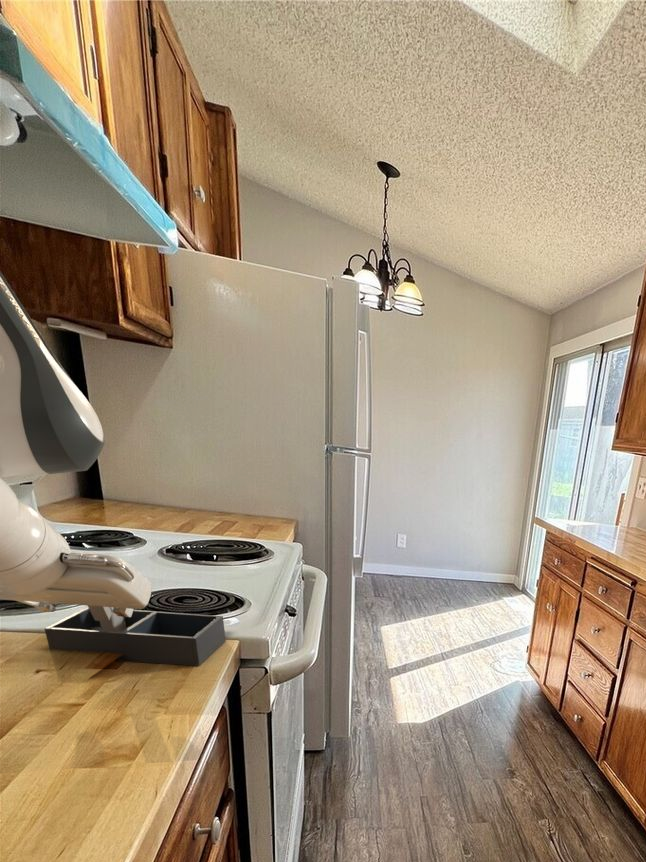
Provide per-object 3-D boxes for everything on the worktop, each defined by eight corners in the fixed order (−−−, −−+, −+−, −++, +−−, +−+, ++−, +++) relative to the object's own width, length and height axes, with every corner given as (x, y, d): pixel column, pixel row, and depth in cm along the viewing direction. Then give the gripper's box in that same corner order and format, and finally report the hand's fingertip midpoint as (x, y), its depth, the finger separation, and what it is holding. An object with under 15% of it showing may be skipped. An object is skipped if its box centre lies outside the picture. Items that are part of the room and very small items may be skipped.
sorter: (51, 657, 74) (43, 628, 73) (94, 632, 83) (88, 606, 81) (199, 666, 77) (195, 638, 75) (225, 641, 85) (223, 616, 84)
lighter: (114, 632, 82) (103, 579, 79) (127, 632, 82) (117, 580, 79) (95, 650, 76) (82, 594, 72) (110, 650, 76) (98, 594, 73)
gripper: (125, 536, 63) (177, 594, 76) (-75, 519, 61) (13, 582, 74) (111, 584, 61) (166, 636, 74) (-97, 568, 59) (-3, 625, 72)
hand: (89, 609), depth 74 cm, fingers open, 8 cm apart
